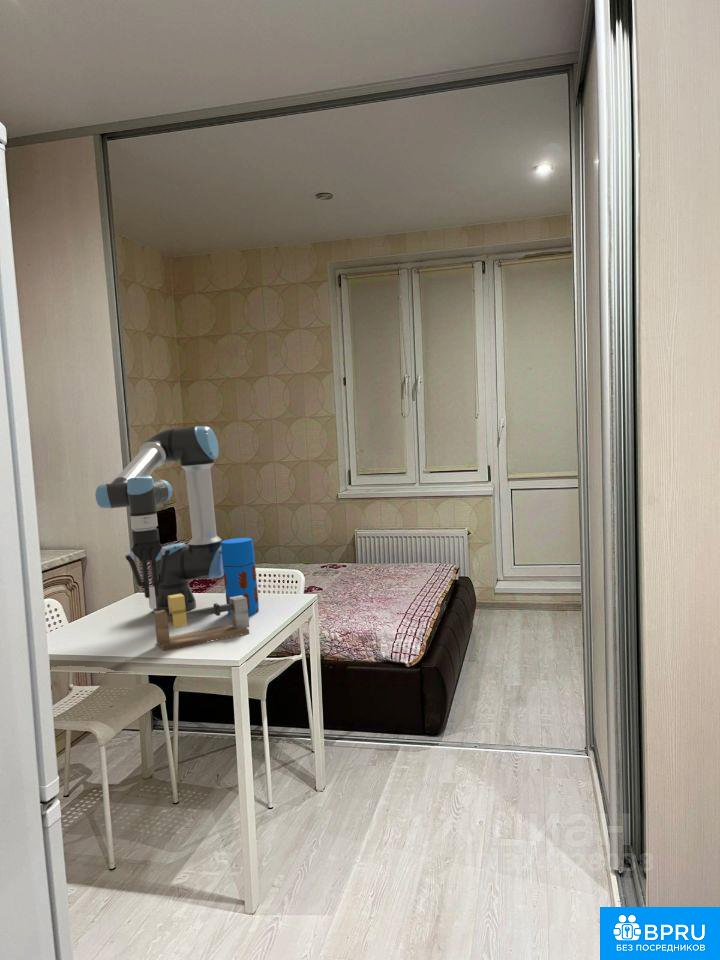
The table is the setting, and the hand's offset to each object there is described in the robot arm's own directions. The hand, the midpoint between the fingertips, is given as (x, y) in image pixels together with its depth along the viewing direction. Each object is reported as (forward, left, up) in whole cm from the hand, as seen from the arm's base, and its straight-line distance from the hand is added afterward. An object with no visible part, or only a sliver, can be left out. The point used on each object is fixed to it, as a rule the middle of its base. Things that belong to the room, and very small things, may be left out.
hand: (153, 607), depth 222 cm
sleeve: (0, +7, -7) cm, 10 cm away
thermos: (-22, +34, -12) cm, 42 cm away
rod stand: (0, +14, -12) cm, 18 cm away
